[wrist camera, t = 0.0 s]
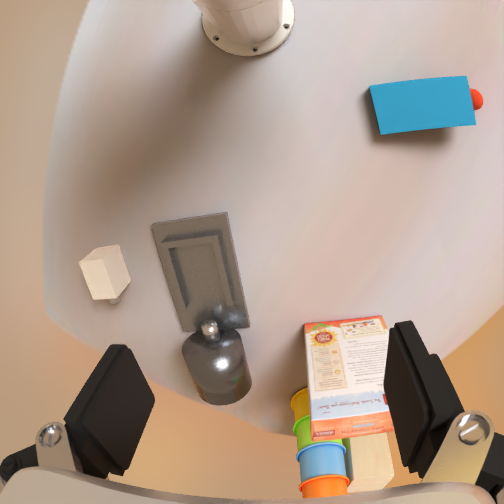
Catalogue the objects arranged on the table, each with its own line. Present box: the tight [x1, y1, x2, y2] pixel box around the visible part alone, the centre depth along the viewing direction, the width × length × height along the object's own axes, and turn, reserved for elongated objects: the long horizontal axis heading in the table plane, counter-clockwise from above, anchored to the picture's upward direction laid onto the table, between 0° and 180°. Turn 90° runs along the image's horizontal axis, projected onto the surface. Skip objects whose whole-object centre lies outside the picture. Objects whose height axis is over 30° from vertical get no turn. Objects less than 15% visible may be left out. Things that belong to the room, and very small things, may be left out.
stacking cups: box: [290, 387, 349, 499], centre depth 46 cm, size 10×10×35 cm
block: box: [79, 244, 131, 305], centre depth 50 cm, size 9×5×6 cm, turn 10°
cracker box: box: [304, 316, 395, 442], centre depth 44 cm, size 14×6×21 cm, turn 97°
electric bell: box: [151, 212, 252, 405], centre depth 49 cm, size 30×12×10 cm, turn 10°
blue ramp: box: [369, 76, 483, 135], centre depth 36 cm, size 7×7×18 cm
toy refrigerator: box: [342, 432, 394, 492], centre depth 52 cm, size 8×7×21 cm
